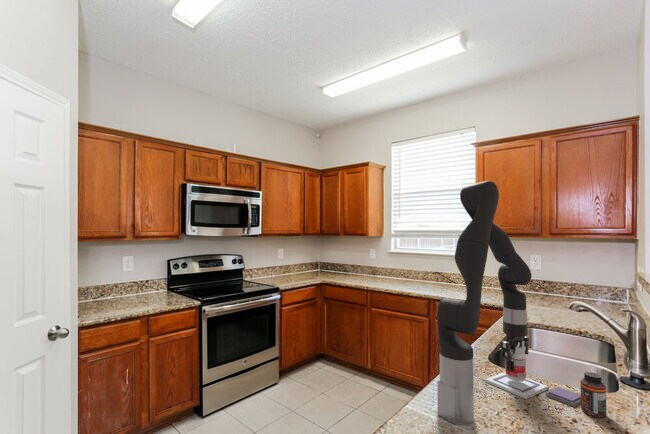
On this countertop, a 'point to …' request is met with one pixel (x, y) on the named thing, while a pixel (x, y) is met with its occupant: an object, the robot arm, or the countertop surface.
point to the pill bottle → (518, 367)
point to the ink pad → (564, 396)
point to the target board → (517, 385)
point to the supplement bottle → (593, 395)
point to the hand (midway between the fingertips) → (515, 368)
